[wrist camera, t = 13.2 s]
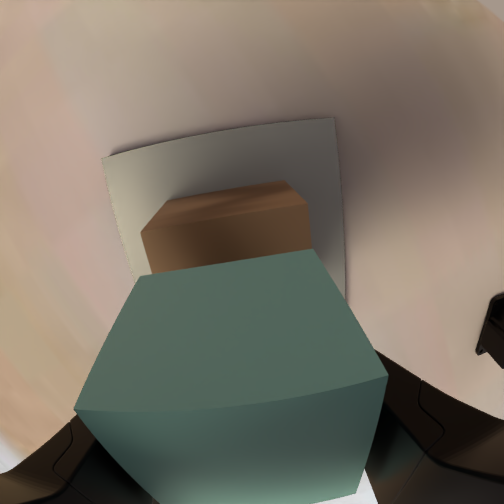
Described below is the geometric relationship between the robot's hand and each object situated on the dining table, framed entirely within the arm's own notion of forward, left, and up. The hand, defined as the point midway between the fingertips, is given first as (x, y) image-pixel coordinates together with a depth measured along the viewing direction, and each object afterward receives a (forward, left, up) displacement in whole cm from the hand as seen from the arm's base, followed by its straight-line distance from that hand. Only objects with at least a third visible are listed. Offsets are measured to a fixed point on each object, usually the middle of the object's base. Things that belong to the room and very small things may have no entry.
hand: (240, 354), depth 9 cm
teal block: (0, 0, -1) cm, 1 cm away
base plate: (0, 0, -9) cm, 9 cm away
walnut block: (0, 0, -8) cm, 8 cm away
